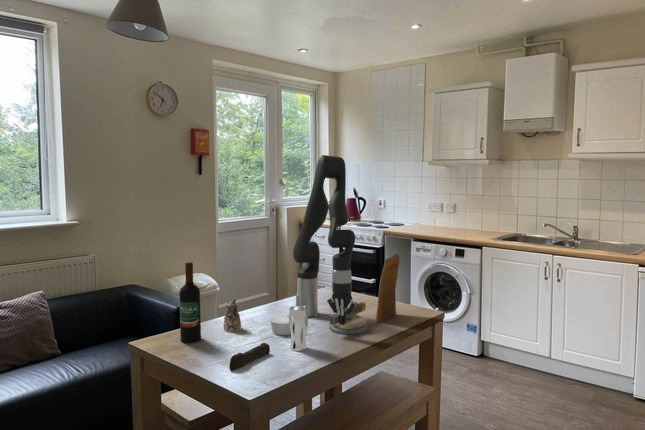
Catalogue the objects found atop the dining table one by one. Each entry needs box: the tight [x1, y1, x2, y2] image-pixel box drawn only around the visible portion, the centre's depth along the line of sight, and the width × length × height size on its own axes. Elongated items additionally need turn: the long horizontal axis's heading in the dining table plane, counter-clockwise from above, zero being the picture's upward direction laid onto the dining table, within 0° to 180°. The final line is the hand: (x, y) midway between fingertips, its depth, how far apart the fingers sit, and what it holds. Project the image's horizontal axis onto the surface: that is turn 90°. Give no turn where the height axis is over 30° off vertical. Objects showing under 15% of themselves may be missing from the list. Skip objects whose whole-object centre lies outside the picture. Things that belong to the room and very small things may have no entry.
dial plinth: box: [328, 322, 369, 336], centre depth 200 cm, size 16×16×2 cm
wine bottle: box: [179, 261, 202, 344], centre depth 185 cm, size 8×8×30 cm
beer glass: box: [288, 305, 309, 352], centre depth 176 cm, size 7×7×15 cm
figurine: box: [223, 299, 242, 333], centre depth 198 cm, size 7×7×12 cm
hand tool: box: [229, 342, 271, 371], centre depth 165 cm, size 19×4×5 cm, turn 146°
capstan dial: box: [329, 301, 367, 330], centre depth 199 cm, size 14×25×6 cm, turn 146°
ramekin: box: [269, 314, 291, 336], centre depth 195 cm, size 11×11×5 cm
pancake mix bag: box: [375, 253, 400, 323], centre depth 212 cm, size 7×19×28 cm, turn 146°
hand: (342, 324), depth 189 cm, fingers closed
